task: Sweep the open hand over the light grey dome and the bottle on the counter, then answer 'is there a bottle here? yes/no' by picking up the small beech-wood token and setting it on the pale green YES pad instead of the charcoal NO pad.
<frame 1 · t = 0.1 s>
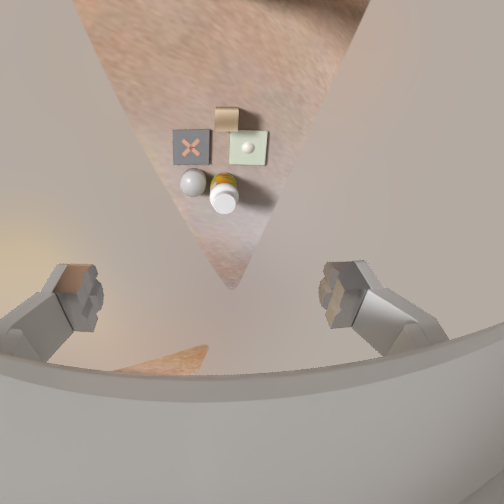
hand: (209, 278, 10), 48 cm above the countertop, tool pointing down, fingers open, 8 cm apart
supplement bottle: (223, 183, 58), on the countertop
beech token: (225, 116, 50), on the countertop
light grey dome: (194, 179, 56), on the countertop
yes pad: (247, 147, 54), on the countertop
no pad: (191, 146, 52), on the countertop
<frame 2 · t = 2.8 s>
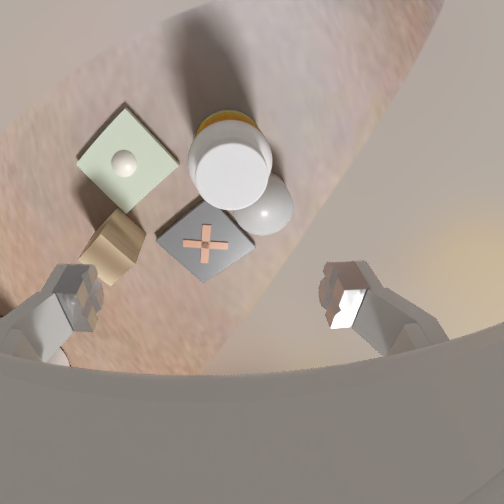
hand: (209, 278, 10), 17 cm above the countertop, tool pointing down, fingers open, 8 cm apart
supplement bottle: (227, 139, 23), on the countertop
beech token: (120, 232, 27), on the countertop
light grey dome: (259, 195, 26), on the countertop
yes pad: (126, 161, 23), on the countertop
no pad: (205, 241, 28), on the countertop
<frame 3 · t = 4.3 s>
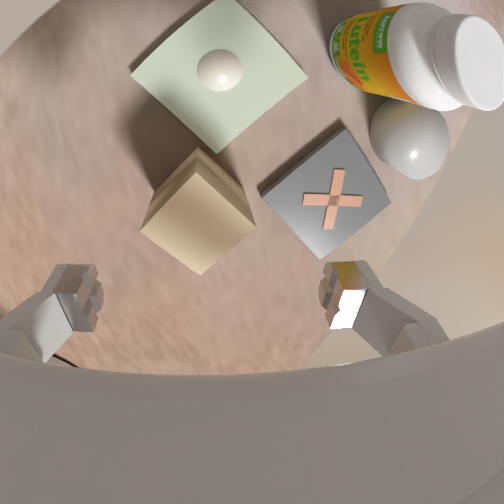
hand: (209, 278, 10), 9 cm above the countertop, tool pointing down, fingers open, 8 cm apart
supplement bottle: (364, 53, 14), on the countertop
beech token: (198, 189, 18), on the countertop
light grey dome: (397, 131, 17), on the countertop
yes pad: (219, 70, 14), on the countertop
no pad: (330, 196, 19), on the countertop
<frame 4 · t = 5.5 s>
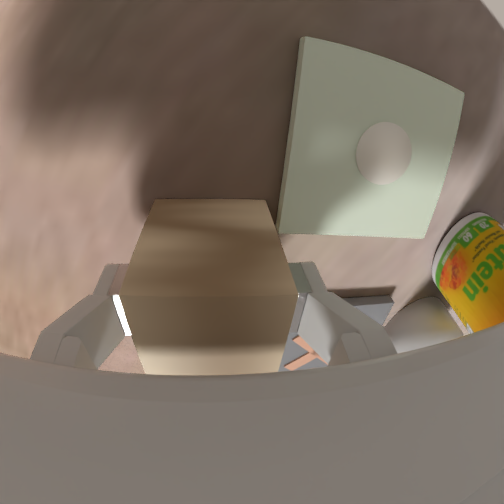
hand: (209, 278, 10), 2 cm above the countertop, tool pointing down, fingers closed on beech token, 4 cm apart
supplement bottle: (461, 248, 13), on the countertop
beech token: (209, 245, 11), on the countertop, touching gripper
light grey dome: (412, 323, 17), on the countertop
yes pad: (376, 148, 10), on the countertop
no pad: (316, 342, 16), on the countertop
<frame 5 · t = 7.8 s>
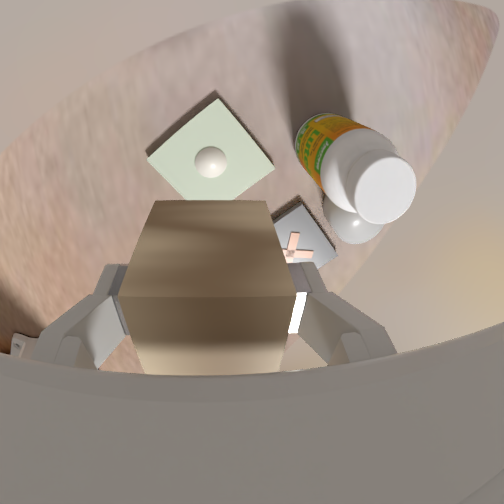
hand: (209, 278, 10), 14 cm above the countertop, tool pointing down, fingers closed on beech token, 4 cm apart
supplement bottle: (324, 143, 22), on the countertop
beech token: (210, 246, 11), point 12 cm above the countertop, touching gripper
light grey dome: (347, 202, 25), on the countertop
yes pad: (211, 160, 21), on the countertop
no pad: (288, 249, 27), on the countertop
when the fingers open (3 cm above the countertop, at t = 9.9 s): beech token stays where it is, resting on yes pad.
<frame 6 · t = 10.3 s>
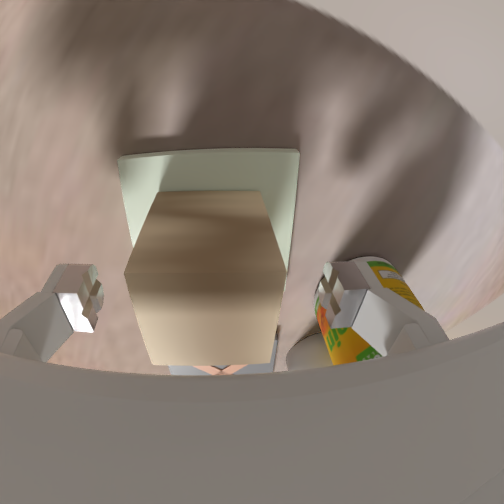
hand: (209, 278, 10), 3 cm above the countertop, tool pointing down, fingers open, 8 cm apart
supplement bottle: (354, 288, 16), on the countertop
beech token: (208, 235, 12), point 1 cm above the countertop, touching yes pad
light grey dome: (319, 352, 19), on the countertop
yes pad: (210, 226, 13), on the countertop
no pad: (221, 366, 19), on the countertop
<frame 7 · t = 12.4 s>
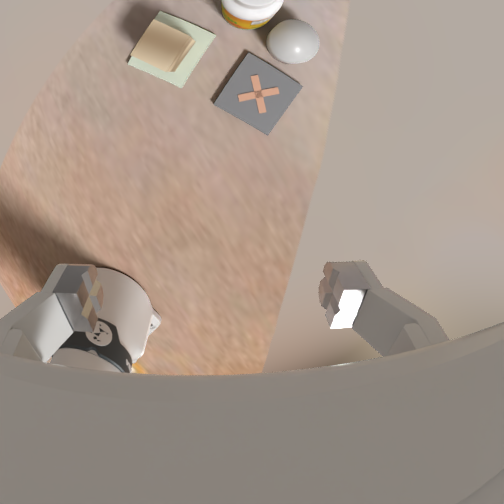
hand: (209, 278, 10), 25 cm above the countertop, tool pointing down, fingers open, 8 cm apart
supplement bottle: (247, 9, 22), on the countertop
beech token: (169, 48, 23), point 1 cm above the countertop, touching yes pad
light grey dome: (289, 43, 25), on the countertop
yes pad: (171, 48, 24), on the countertop
no pad: (258, 93, 28), on the countertop
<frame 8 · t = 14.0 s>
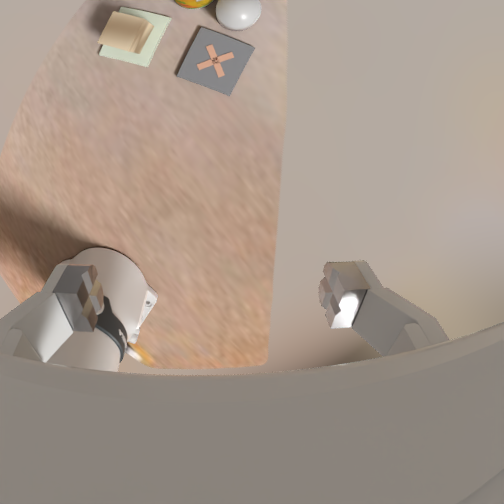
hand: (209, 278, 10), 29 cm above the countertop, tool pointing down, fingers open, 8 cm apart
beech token: (132, 35, 24), point 1 cm above the countertop, touching yes pad
light grey dome: (237, 13, 25), on the countertop
yes pad: (134, 36, 25), on the countertop
no pad: (215, 61, 29), on the countertop
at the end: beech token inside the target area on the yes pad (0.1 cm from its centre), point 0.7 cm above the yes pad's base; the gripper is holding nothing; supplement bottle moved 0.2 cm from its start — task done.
